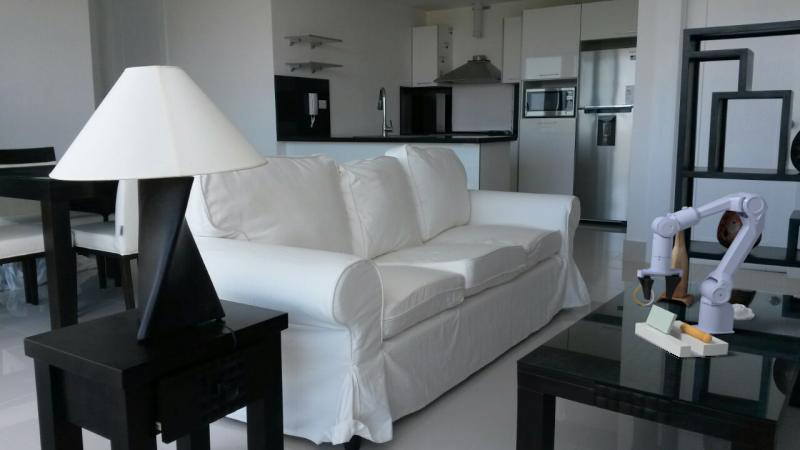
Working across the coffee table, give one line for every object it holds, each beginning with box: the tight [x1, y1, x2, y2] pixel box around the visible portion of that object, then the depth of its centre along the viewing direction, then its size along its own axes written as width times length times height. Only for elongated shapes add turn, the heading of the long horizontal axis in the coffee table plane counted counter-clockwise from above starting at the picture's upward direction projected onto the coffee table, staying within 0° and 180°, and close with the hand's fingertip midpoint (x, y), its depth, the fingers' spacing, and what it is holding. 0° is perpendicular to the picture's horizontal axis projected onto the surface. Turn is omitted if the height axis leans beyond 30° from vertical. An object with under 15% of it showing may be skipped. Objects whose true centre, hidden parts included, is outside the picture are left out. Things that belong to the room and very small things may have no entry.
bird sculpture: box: [655, 230, 695, 308], centre depth 228 cm, size 11×12×32 cm
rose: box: [731, 303, 755, 321], centre depth 214 cm, size 10×4×10 cm
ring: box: [632, 283, 656, 307], centre depth 224 cm, size 7×3×8 cm, turn 57°
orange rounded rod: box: [680, 322, 713, 343], centre depth 181 cm, size 2×12×2 cm, turn 13°
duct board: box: [634, 320, 729, 358], centre depth 185 cm, size 15×21×4 cm
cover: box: [645, 304, 678, 334], centre depth 187 cm, size 6×10×1 cm
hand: (657, 298), depth 199 cm, fingers open, 7 cm apart
